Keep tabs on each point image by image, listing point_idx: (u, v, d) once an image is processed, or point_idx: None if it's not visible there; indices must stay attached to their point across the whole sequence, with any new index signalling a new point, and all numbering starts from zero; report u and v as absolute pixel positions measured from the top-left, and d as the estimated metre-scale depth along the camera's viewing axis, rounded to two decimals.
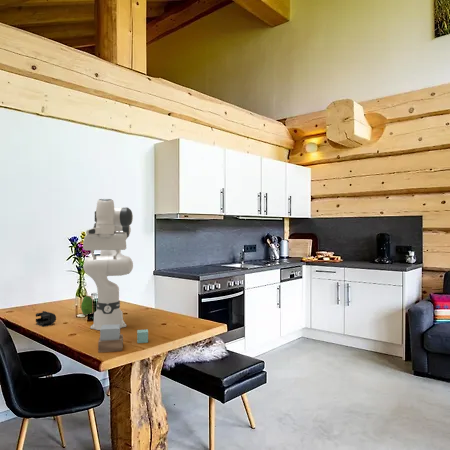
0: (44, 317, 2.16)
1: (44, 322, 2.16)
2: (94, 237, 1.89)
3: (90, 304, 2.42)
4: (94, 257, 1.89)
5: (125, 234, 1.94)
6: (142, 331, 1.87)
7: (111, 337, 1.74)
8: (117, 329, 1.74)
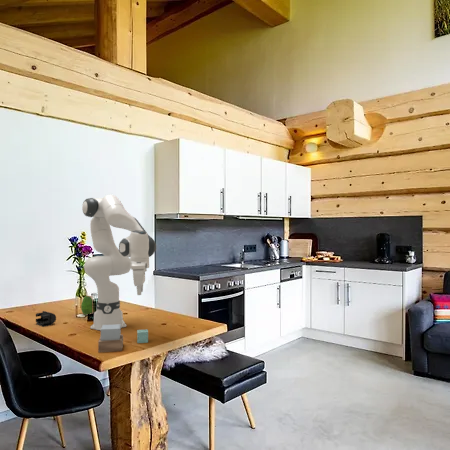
0: (44, 317, 2.16)
1: (44, 322, 2.16)
2: None
3: (90, 304, 2.42)
4: None
5: None
6: (142, 331, 1.87)
7: (112, 337, 1.74)
8: (117, 329, 1.74)
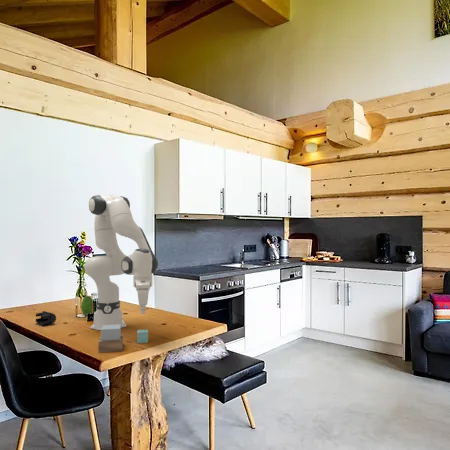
0: (44, 317, 2.16)
1: (44, 322, 2.16)
2: None
3: (90, 304, 2.42)
4: None
5: None
6: (142, 331, 1.87)
7: (112, 337, 1.74)
8: (118, 329, 1.74)
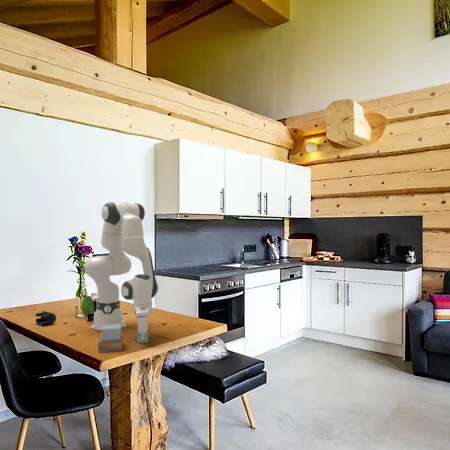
0: (44, 317, 2.16)
1: (44, 322, 2.16)
2: None
3: (90, 304, 2.42)
4: (144, 337, 1.85)
5: None
6: None
7: (113, 337, 1.74)
8: (118, 329, 1.74)
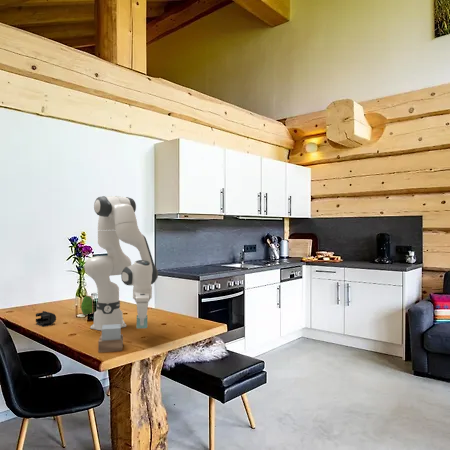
0: (44, 317, 2.16)
1: (44, 322, 2.16)
2: None
3: (90, 304, 2.42)
4: (143, 322, 1.86)
5: None
6: None
7: (113, 337, 1.74)
8: (119, 329, 1.75)
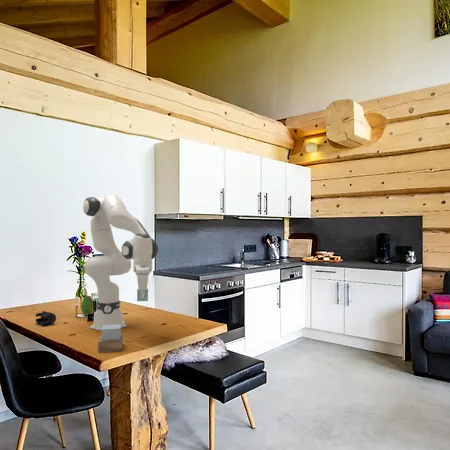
0: (44, 317, 2.16)
1: (44, 322, 2.16)
2: None
3: (90, 304, 2.42)
4: (144, 295, 1.85)
5: None
6: None
7: (113, 337, 1.74)
8: (119, 329, 1.75)
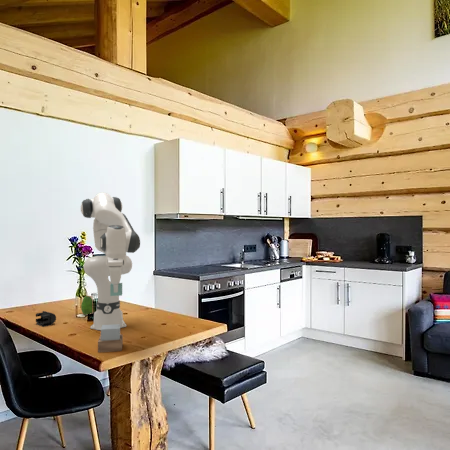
0: (44, 317, 2.16)
1: (44, 322, 2.16)
2: None
3: (90, 304, 2.42)
4: (117, 289, 1.76)
5: None
6: None
7: (112, 337, 1.74)
8: (118, 329, 1.74)
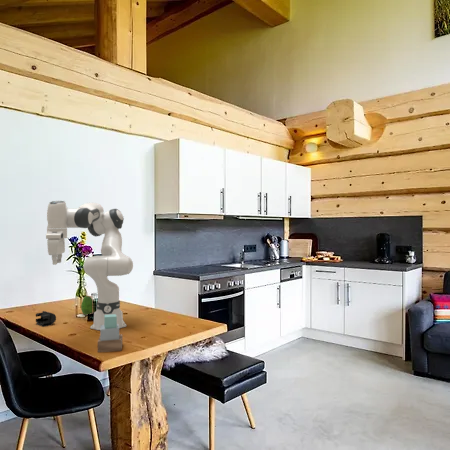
0: (44, 317, 2.16)
1: (44, 322, 2.16)
2: (59, 241, 1.84)
3: (90, 304, 2.42)
4: (56, 262, 1.83)
5: None
6: (110, 316, 1.76)
7: (111, 337, 1.74)
8: (117, 329, 1.75)
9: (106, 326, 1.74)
